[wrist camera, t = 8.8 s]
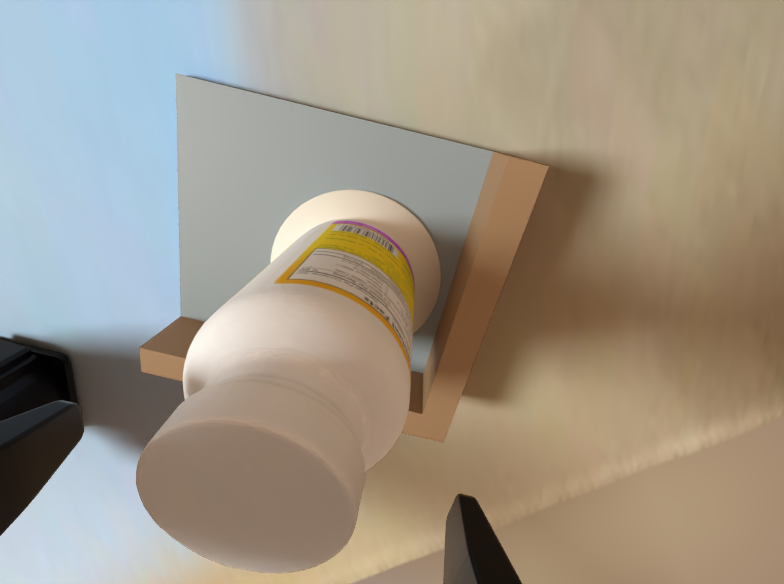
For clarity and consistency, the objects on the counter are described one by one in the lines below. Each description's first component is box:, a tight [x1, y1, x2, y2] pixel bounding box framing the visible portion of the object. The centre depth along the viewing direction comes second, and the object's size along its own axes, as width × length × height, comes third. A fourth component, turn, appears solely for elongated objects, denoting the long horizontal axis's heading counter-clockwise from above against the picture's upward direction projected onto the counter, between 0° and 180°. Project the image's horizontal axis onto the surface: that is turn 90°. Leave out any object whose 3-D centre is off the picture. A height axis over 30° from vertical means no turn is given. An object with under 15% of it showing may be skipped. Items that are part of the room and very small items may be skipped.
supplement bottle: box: [136, 219, 415, 573], centre depth 13 cm, size 7×7×13 cm
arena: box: [139, 74, 549, 442], centre depth 18 cm, size 14×16×4 cm
